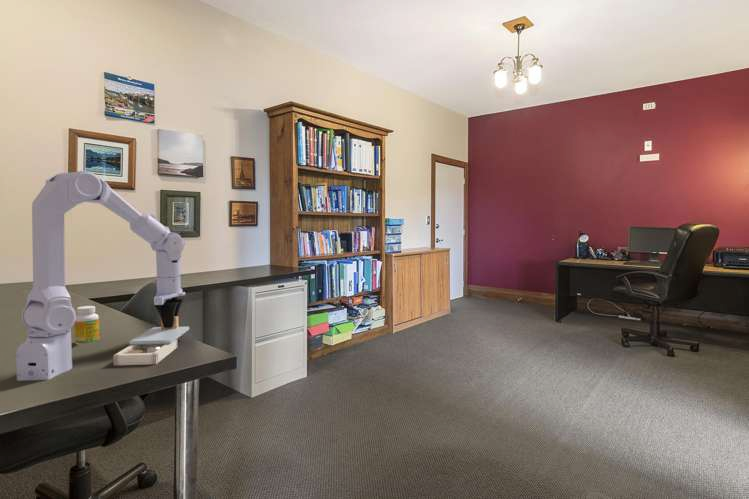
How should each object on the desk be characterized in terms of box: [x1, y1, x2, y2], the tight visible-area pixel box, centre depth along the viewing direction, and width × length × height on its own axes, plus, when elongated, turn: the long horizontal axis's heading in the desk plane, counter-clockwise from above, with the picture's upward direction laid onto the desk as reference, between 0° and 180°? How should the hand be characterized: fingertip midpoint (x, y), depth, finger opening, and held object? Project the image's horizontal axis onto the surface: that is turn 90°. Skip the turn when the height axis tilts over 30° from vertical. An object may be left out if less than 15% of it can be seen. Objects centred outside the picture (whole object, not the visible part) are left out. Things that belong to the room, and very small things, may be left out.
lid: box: [128, 315, 190, 345], centre depth 105 cm, size 13×9×4 cm
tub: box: [112, 337, 179, 366], centre depth 97 cm, size 13×9×3 cm
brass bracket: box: [125, 350, 143, 354], centre depth 93 cm, size 3×3×2 cm
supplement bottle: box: [73, 305, 100, 346], centre depth 110 cm, size 5×5×10 cm
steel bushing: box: [147, 346, 160, 353], centre depth 97 cm, size 3×3×2 cm
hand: (169, 326), depth 111 cm, fingers closed on lid, 2 cm apart
